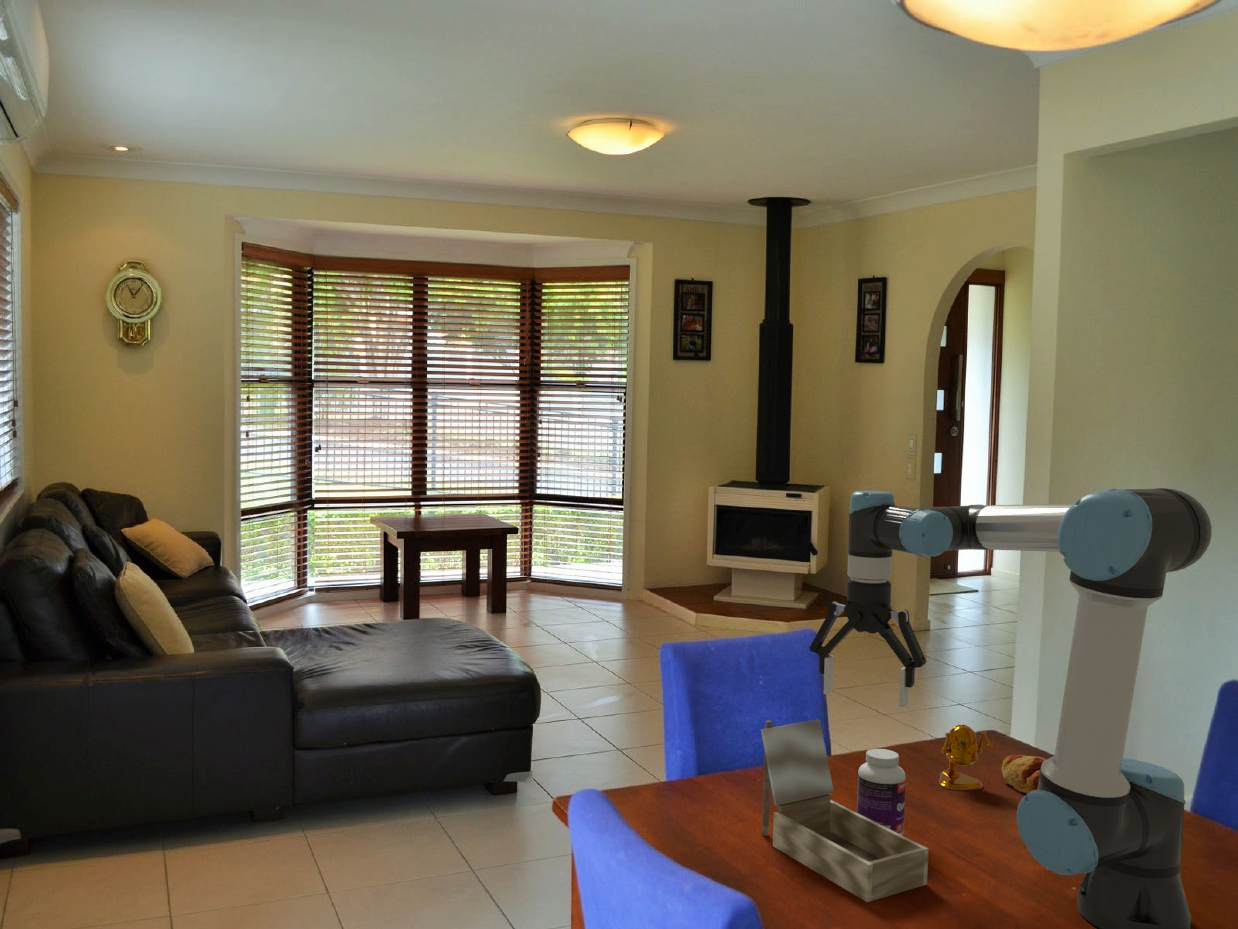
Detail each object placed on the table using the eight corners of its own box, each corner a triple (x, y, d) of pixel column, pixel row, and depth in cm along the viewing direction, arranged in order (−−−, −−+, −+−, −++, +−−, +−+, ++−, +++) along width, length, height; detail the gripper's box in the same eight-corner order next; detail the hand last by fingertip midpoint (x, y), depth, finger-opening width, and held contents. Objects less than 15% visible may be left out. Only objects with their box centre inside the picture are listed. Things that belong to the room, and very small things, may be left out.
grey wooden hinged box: (926, 884, 169) (932, 759, 167) (867, 902, 162) (872, 772, 161) (811, 822, 192) (815, 712, 191) (754, 835, 186) (758, 722, 184)
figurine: (950, 794, 207) (953, 733, 207) (926, 774, 218) (929, 716, 217) (992, 793, 209) (995, 732, 208) (966, 773, 219) (969, 715, 218)
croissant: (992, 785, 223) (977, 752, 222) (1034, 762, 224) (1018, 729, 223) (1045, 824, 202) (1028, 788, 201) (1091, 798, 203) (1073, 762, 202)
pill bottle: (904, 846, 183) (908, 763, 182) (856, 841, 184) (859, 759, 183) (902, 828, 191) (905, 748, 190) (855, 823, 192) (858, 744, 191)
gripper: (946, 583, 185) (942, 705, 186) (809, 569, 198) (806, 683, 199) (935, 589, 178) (930, 715, 180) (794, 574, 191) (790, 692, 192)
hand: (865, 699), depth 189 cm, fingers open, 13 cm apart
